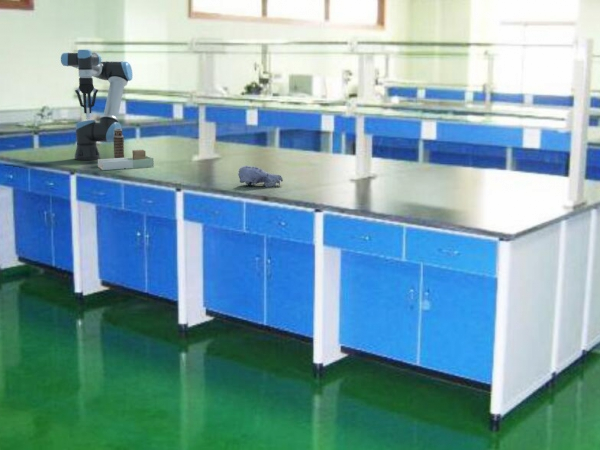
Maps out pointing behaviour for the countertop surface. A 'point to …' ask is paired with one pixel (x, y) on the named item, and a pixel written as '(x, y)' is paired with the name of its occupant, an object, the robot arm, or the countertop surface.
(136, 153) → the walnut block
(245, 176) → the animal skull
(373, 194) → the countertop surface
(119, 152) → the miniature building
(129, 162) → the lane box
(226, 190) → the countertop surface
